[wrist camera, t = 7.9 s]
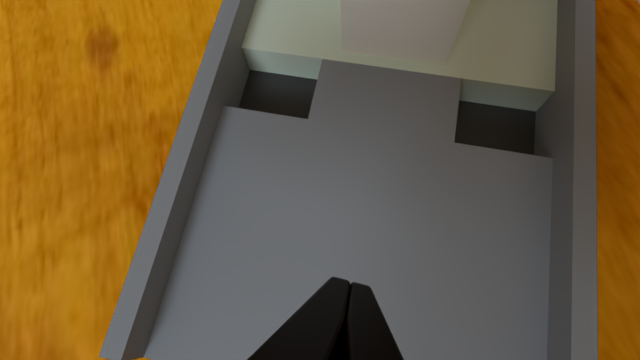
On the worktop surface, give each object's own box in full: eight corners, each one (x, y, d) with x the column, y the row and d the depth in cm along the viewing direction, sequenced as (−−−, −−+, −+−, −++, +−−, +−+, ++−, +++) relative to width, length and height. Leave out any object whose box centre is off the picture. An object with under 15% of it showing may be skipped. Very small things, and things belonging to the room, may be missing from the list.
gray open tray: (541, 444, 19) (607, 487, 14) (148, 348, 21) (91, 357, 16) (555, -3, 27) (600, -72, 22) (268, -35, 29) (254, -103, 24)
